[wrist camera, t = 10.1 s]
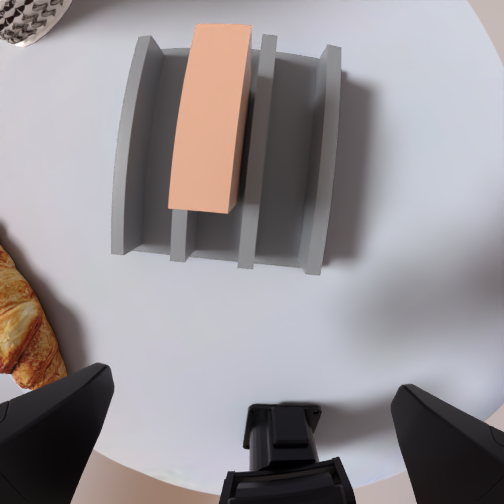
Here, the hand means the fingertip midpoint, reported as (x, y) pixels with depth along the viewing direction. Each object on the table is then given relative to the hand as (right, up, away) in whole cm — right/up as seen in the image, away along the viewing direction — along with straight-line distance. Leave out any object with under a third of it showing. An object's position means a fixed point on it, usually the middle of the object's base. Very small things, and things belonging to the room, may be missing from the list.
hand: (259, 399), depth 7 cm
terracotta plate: (-2, +11, +9) cm, 14 cm away
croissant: (-22, -2, +13) cm, 26 cm away
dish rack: (-2, +11, +10) cm, 15 cm away
